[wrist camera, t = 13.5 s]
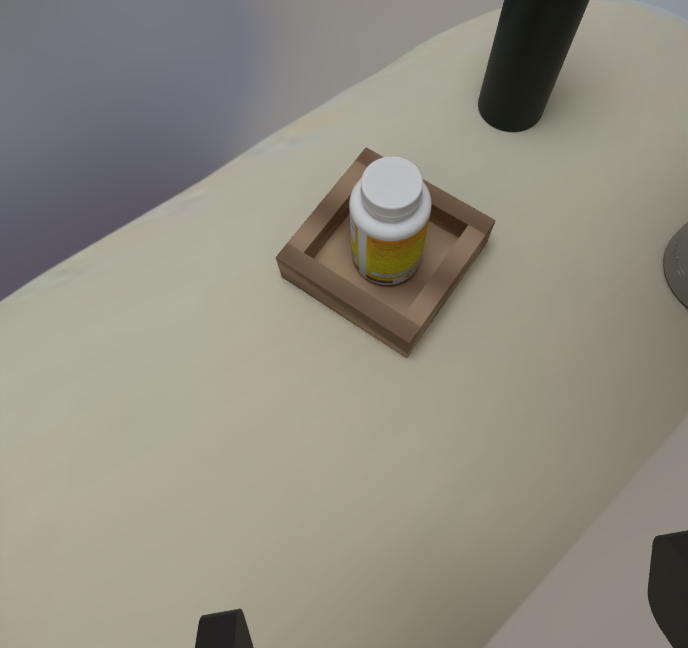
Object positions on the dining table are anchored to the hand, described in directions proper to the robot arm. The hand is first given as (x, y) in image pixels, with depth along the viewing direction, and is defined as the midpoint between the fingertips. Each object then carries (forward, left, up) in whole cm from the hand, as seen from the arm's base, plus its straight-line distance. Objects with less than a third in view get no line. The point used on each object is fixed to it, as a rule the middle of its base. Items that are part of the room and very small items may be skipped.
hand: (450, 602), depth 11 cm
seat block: (-4, -22, -31) cm, 38 cm away
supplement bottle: (-4, -22, -30) cm, 37 cm away
